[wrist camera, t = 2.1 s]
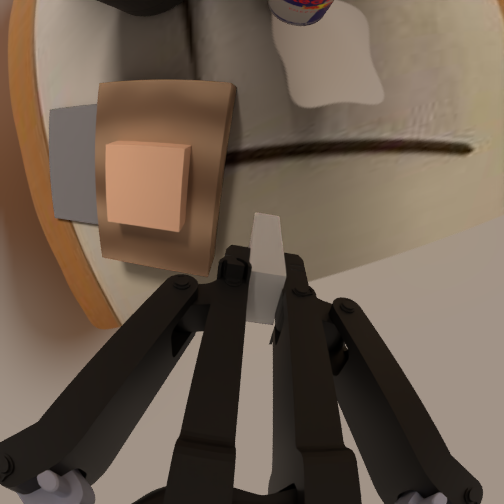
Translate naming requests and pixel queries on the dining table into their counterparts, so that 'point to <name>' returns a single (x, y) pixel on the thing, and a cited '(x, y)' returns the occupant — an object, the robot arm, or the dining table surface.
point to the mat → (73, 162)
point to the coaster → (147, 184)
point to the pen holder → (142, 6)
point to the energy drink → (299, 10)
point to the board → (200, 169)
